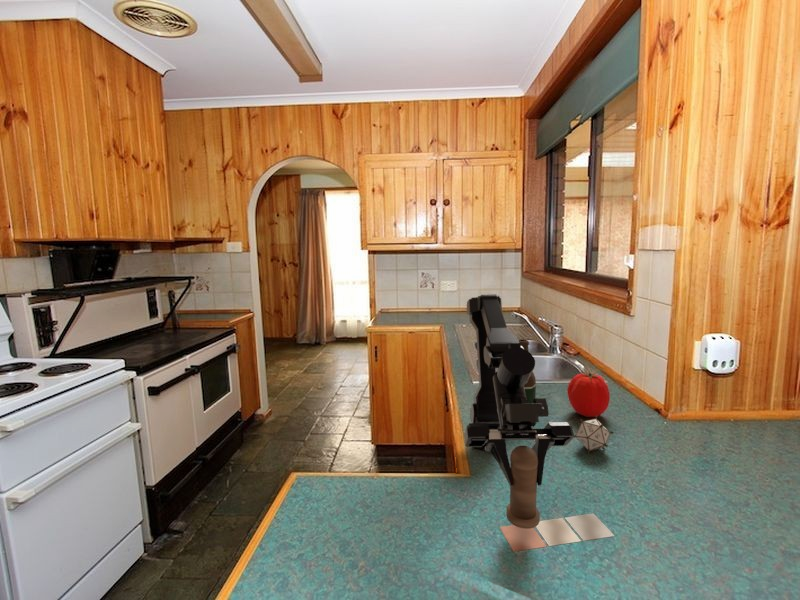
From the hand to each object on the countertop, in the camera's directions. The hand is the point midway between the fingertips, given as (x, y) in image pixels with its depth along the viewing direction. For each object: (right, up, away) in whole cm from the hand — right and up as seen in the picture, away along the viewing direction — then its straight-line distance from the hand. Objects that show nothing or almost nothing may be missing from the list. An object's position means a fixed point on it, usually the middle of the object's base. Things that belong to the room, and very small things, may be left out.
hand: (525, 485), depth 68 cm
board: (+7, -11, +4) cm, 14 cm away
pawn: (0, -7, +2) cm, 7 cm away
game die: (+27, -6, +33) cm, 44 cm away
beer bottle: (+15, -4, +52) cm, 54 cm away
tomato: (+35, -3, +53) cm, 63 cm away
